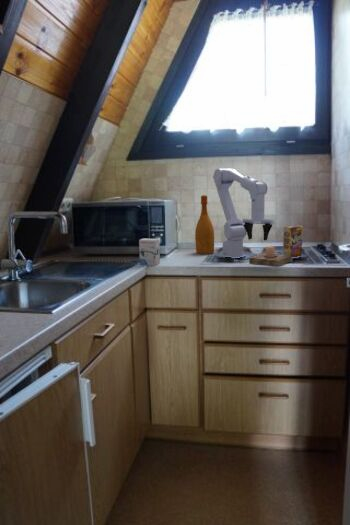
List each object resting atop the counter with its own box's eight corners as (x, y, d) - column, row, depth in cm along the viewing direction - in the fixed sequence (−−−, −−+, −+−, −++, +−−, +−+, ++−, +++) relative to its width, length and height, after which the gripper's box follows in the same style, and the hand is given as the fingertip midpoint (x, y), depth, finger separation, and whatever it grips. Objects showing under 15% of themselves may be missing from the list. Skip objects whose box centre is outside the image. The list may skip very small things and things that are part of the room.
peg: (263, 262, 194) (263, 247, 193) (268, 261, 197) (268, 246, 196) (271, 263, 192) (271, 248, 190) (276, 262, 194) (276, 246, 193)
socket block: (249, 263, 193) (249, 257, 193) (263, 258, 204) (263, 253, 204) (278, 266, 185) (278, 260, 185) (291, 260, 196) (291, 255, 195)
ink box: (139, 264, 198) (138, 239, 195) (143, 262, 202) (142, 238, 200) (156, 265, 195) (155, 240, 193) (160, 263, 200) (159, 238, 197)
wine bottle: (217, 252, 225) (217, 194, 219) (208, 255, 217) (208, 195, 211) (201, 250, 230) (200, 194, 224) (192, 253, 222) (190, 195, 216)
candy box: (289, 260, 197) (290, 227, 194) (282, 259, 201) (282, 226, 198) (302, 257, 202) (303, 225, 199) (295, 256, 206) (295, 225, 203)
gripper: (239, 209, 192) (239, 239, 195) (268, 210, 183) (268, 241, 186) (246, 208, 197) (246, 237, 200) (275, 209, 189) (275, 239, 191)
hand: (257, 239), depth 193 cm, fingers open, 7 cm apart
